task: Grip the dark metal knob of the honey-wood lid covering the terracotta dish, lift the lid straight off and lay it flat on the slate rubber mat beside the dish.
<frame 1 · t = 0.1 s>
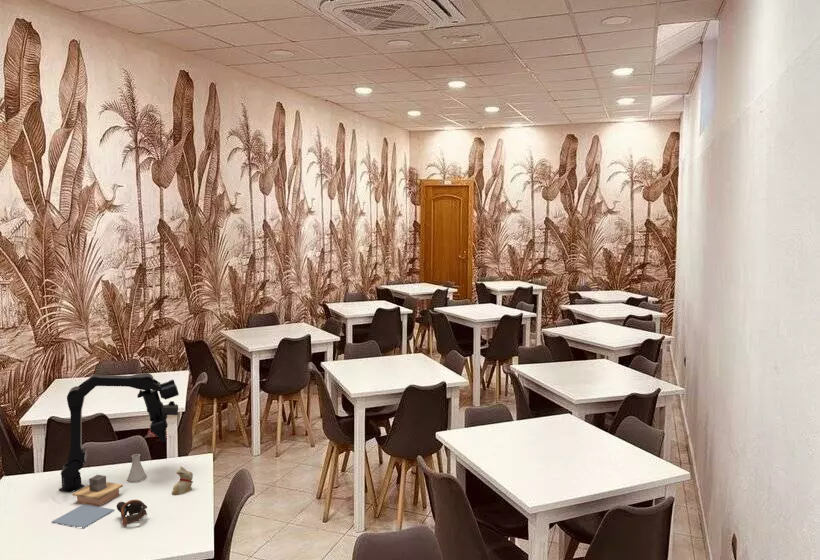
hand: (164, 438, 255), 15 cm above the table, tool pointing down, fingers open, 9 cm apart
flask: (136, 479, 252), on the table
slate mat: (83, 516, 220), on the table
terracotta dish: (98, 498, 234), on the table
wooden lid: (98, 491, 234), point 3 cm above the table, touching terracotta dish
brown curved piece: (131, 520, 218), on the table
chocolate bunny: (182, 491, 241), on the table
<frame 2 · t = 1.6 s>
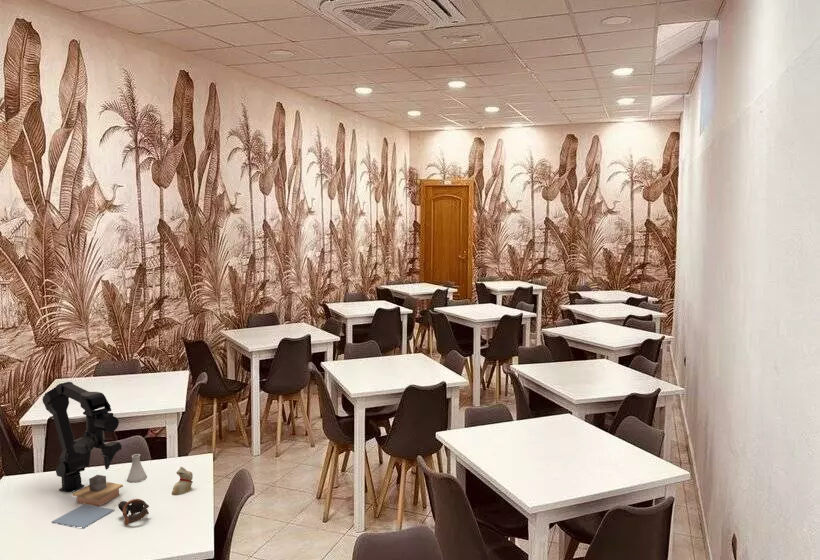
hand: (97, 467, 233), 12 cm above the table, tool pointing down, fingers open, 9 cm apart
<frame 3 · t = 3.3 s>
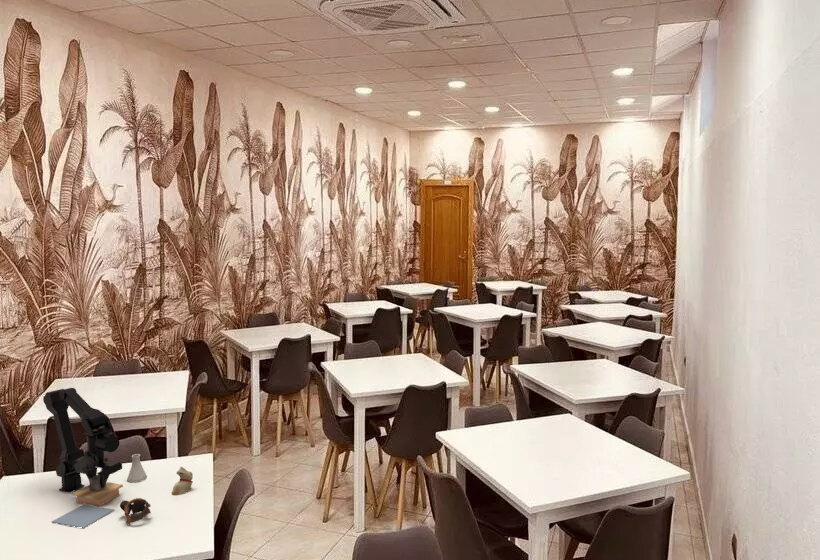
hand: (97, 487, 234), 5 cm above the table, tool pointing down, fingers closed on wooden lid, 4 cm apart
wooden lid: (98, 491, 234), point 3 cm above the table, touching gripper, terracotta dish
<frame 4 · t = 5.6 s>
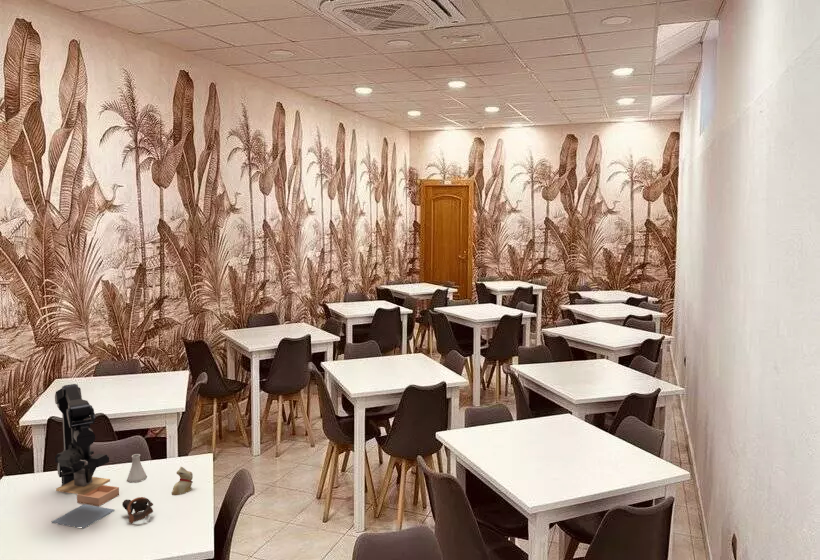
hand: (83, 481, 220), 12 cm above the table, tool pointing down, fingers closed on wooden lid, 4 cm apart
wooden lid: (83, 485, 220), point 11 cm above the table, touching gripper
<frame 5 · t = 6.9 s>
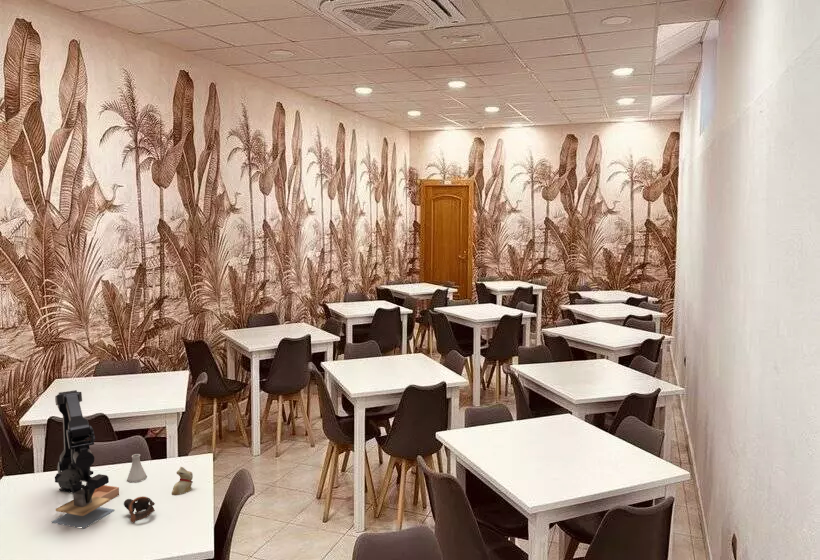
hand: (82, 502, 220), 5 cm above the table, tool pointing down, fingers closed on wooden lid, 4 cm apart
wooden lid: (83, 506, 220), point 4 cm above the table, touching gripper
when the fingers open (3 cm above the table, at t = 8.0 s): wooden lid drops 1 cm, resting on slate mat.
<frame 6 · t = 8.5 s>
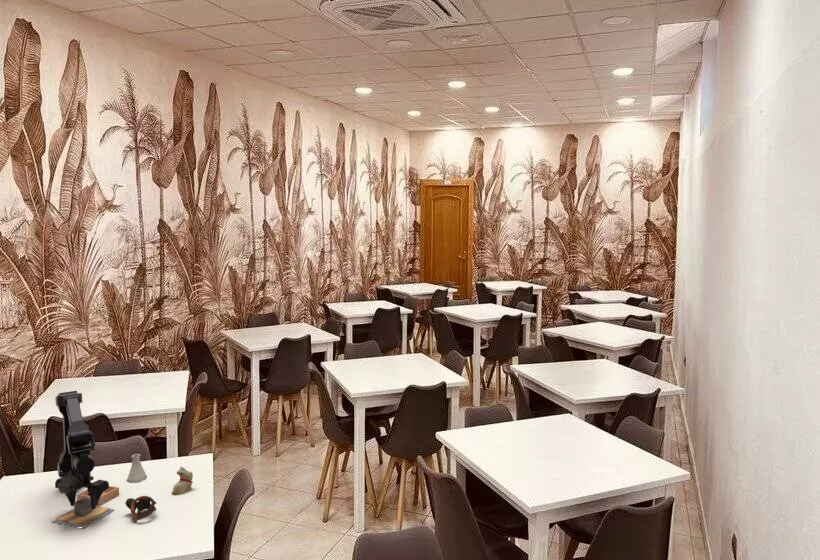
hand: (83, 507, 220), 3 cm above the table, tool pointing down, fingers open, 9 cm apart
wooden lid: (83, 515, 220), resting on slate mat
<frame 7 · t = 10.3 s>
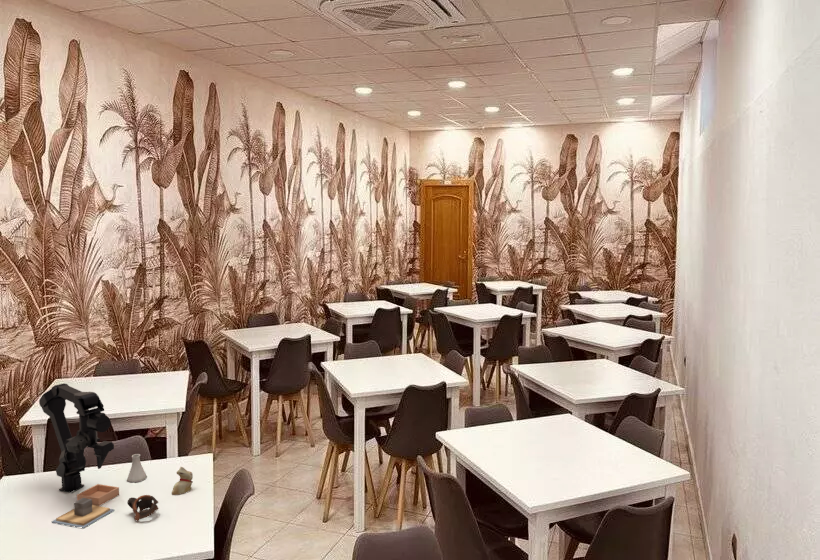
hand: (89, 466, 235), 12 cm above the table, tool pointing down, fingers open, 9 cm apart
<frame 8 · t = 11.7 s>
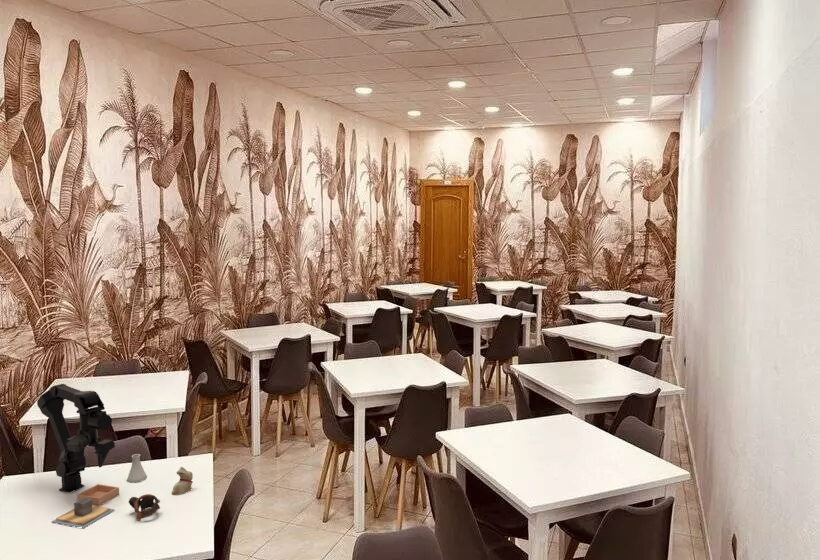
hand: (90, 465, 235), 12 cm above the table, tool pointing down, fingers open, 9 cm apart
at the end: wooden lid inside the target area on the slate mat (0.1 cm from its centre), point 0.4 cm above the slate mat's base; wooden lid tilted 0°; wooden lid touching slate mat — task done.
